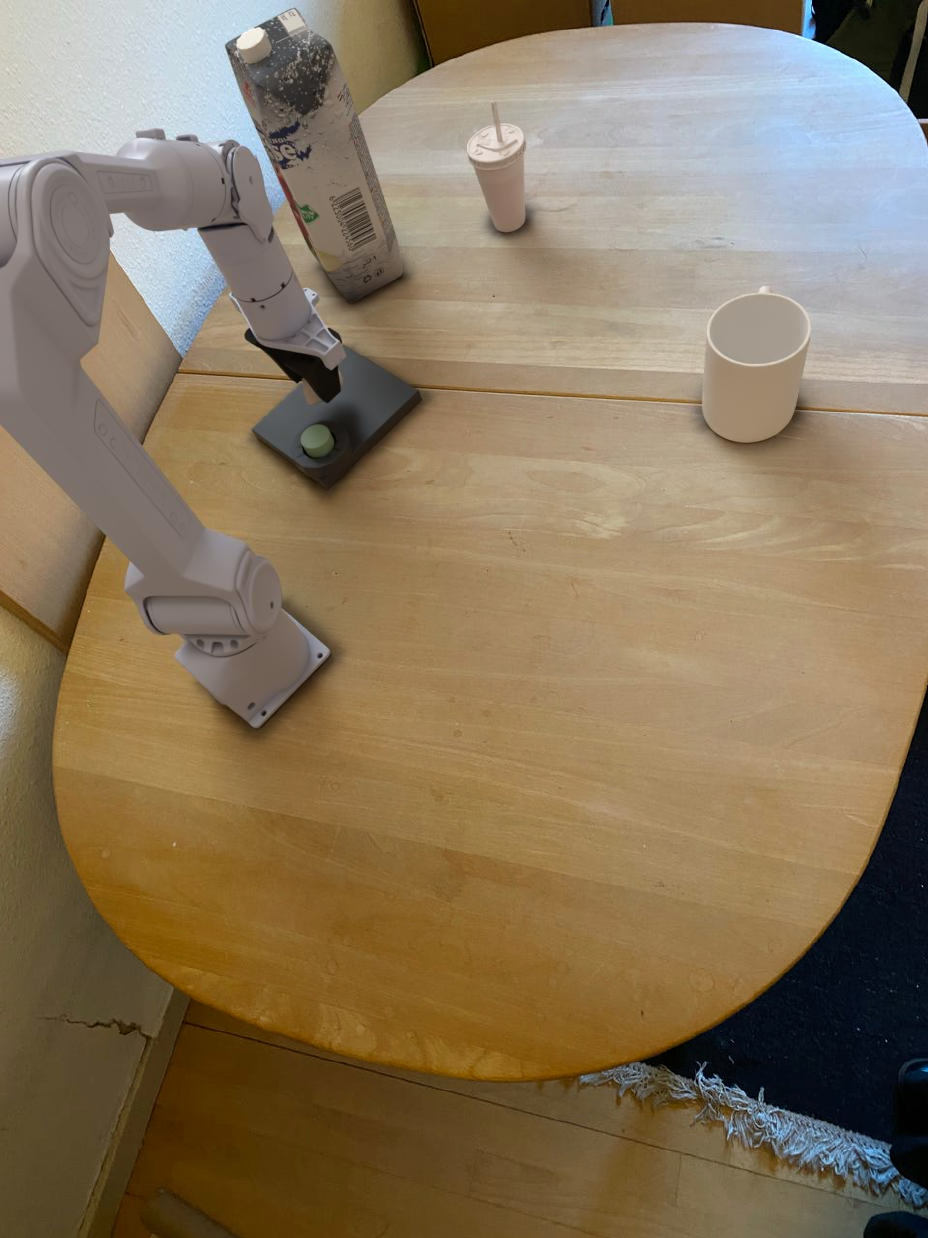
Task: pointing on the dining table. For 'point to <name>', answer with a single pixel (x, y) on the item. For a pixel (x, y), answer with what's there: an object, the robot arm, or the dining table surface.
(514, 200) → the smoothie
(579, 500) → the dining table surface
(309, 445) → the button
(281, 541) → the dining table surface
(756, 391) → the cup
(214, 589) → the robot arm
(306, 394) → the beige rounded teardrop
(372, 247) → the juice carton
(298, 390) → the scale
